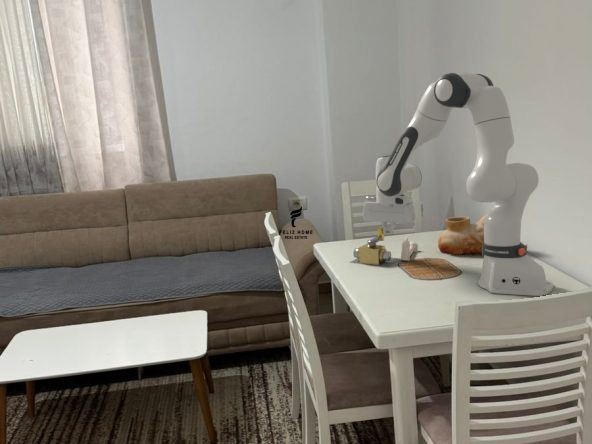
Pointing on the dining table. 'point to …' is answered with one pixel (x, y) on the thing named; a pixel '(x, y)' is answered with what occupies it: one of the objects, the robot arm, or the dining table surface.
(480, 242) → the ceramic vessel
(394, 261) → the valve base plate
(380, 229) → the valve lever
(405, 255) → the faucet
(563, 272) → the dining table surface
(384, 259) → the valve body
